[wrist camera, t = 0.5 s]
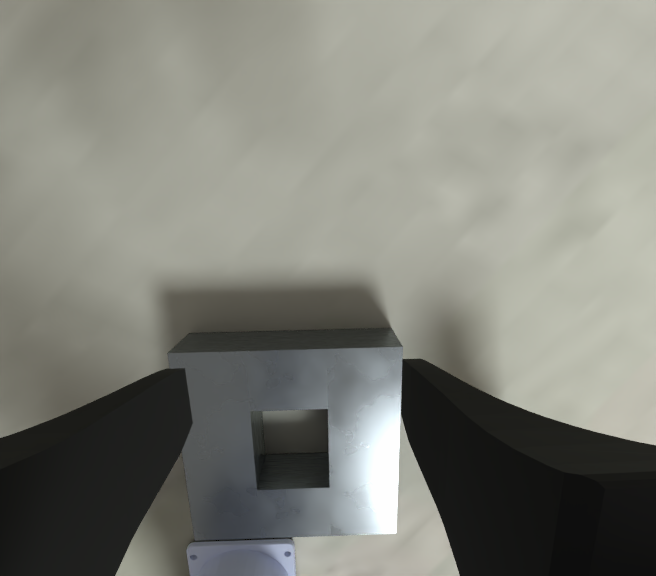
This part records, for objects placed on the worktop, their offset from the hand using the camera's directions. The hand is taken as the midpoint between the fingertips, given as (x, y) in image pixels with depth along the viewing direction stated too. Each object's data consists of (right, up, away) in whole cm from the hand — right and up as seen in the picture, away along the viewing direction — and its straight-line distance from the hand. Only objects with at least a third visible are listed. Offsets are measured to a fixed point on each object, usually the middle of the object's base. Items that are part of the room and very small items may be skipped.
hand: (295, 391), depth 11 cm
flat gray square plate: (-1, -6, +12) cm, 13 cm away
